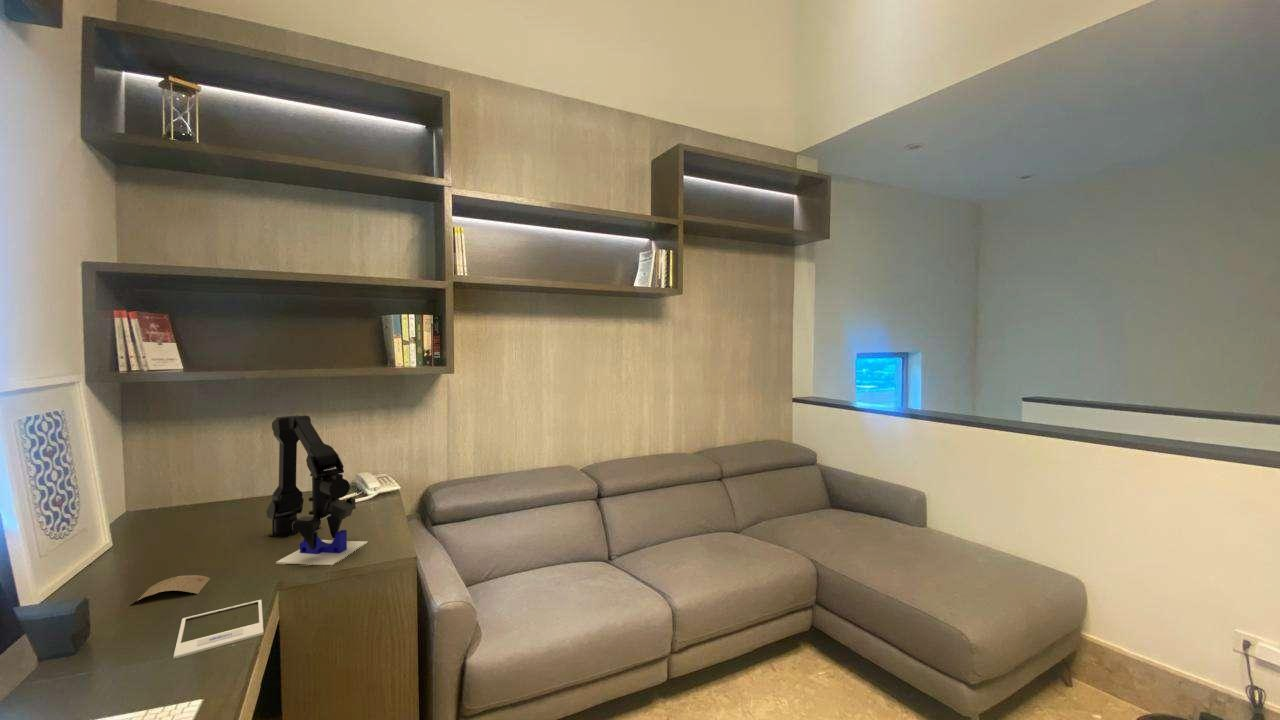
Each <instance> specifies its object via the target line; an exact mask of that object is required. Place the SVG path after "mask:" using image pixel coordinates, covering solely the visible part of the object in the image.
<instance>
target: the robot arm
mask: <svg viewBox="0 0 1280 720" xmlns="http://www.w3.org/2000/svg"><path fill="white" fill-rule="evenodd" d="M271 430H272V431H273V436H274V438H275V439H276V440H277V442H278V443H279V444H278V445H279V449H278V451H279V453H278V457H279V458H278V486H277V487H276V489H275V490H274V492H273V493H272V496H271V502H270V503H269V505H268V507H267V509H266V516H267V518H268V519H271V520H272V525H271V526H272V528H271V529H272V533H269V534H268V537H278V538H279V537H280V538H281V537H282V538H284V537H285V538H286V537H289V536H291V535H293V534H296V533H299V534H300V535H301V536H302V538H303V540H304V539H305V541H306V542H307V544H308V545H309V547H310V549H311V550H315V548H316V539H317V536H318V532H319V531H320V529H322V527H321V525H322V523H321V522H322V521H323V520H325V519H326V521H327V523H328V528H329V532H330V535H331V538H332V539H334V538H335V533H337V532H339V531H340V528H341V524H342V522H343V520H346V518H347V517H350V516H352V513H353V511H354V510H355V509H356V508H357V505H356V498H354V497H352V496H351V497H349V498H347V499H343V500H341V499H342V498H344V497H346V496H347V494H349V491H350V488H351V485H350V482H349V481H348V480H347V479H344V478H343V477H344V475H343V474H344V472H345V470H344V465H343V462H342V460H341V458H340V456H339V453H337V452H336V450H335V449H334V448H333V447H332V446H331V445H329V444H326V443H324V442H323V440H322V439H321V437H320V435H319V434H318V432H317V430H316V429H315V427H314V426H313V424H312V420H311V417H310V415H305V414H304V415H299V414H296V415H288V416H287V415H286V416H277V417H276V418H275V419H274V420H273V421H272V422H271ZM298 442H300V443H301V444H302V446H303V448H304V450H305V452H306V454H307V457H306V461H305V462H306V467H307V468H308V470H309V473H310V474H309V476H310V477H311V491H312V493H311V495H312V496H310V497H308V502H311V503H312V505H311V506H312V510H309V511H308V515H309V516H306V515H305V516H301V517H299V518H298V517H297V516H298V515H299V514H302V511H303V507H304V498H303V492H302V491H301V490H300V488H299V487H298V486H297V458H298V457H297V456H298V455H297V454H298V451H297V450H298Z"/></svg>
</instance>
